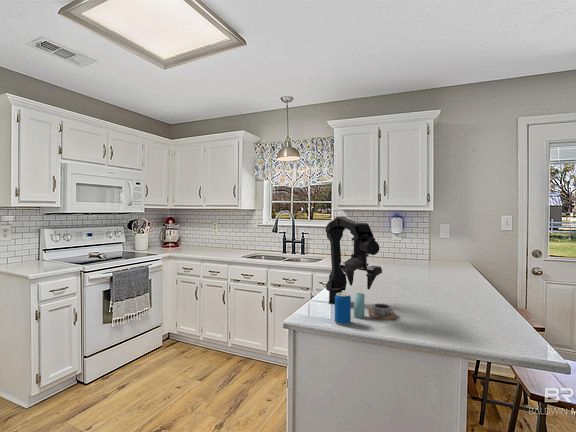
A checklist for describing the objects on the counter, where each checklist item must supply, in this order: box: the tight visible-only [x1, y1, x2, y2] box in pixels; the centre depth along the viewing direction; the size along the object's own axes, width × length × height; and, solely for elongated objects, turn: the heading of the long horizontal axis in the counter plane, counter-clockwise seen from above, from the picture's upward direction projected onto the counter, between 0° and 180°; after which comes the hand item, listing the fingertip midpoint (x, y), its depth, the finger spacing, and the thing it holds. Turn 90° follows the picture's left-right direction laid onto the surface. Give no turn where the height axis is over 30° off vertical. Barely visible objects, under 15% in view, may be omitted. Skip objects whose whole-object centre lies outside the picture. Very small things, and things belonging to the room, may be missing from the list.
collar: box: [371, 302, 393, 316], centre depth 145 cm, size 8×8×3 cm
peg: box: [353, 292, 366, 320], centre depth 142 cm, size 4×4×10 cm
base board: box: [367, 308, 397, 321], centre depth 145 cm, size 11×11×1 cm
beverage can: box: [334, 291, 352, 326], centre depth 135 cm, size 6×6×12 cm
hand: (359, 287), depth 142 cm, fingers open, 9 cm apart
